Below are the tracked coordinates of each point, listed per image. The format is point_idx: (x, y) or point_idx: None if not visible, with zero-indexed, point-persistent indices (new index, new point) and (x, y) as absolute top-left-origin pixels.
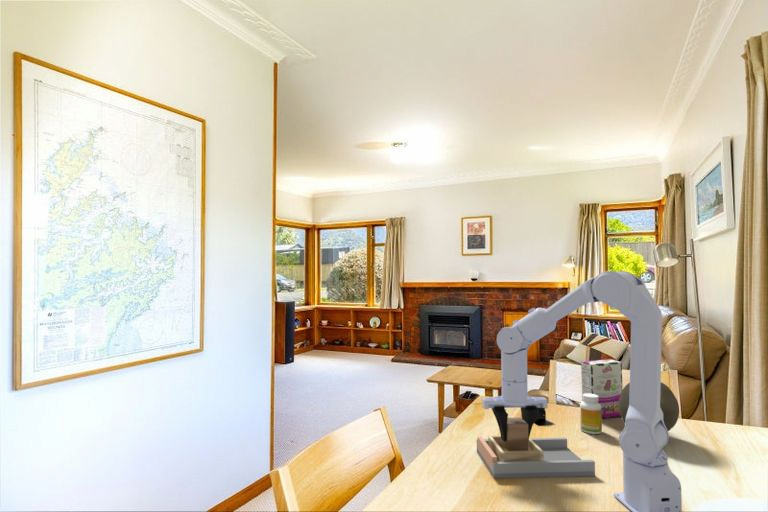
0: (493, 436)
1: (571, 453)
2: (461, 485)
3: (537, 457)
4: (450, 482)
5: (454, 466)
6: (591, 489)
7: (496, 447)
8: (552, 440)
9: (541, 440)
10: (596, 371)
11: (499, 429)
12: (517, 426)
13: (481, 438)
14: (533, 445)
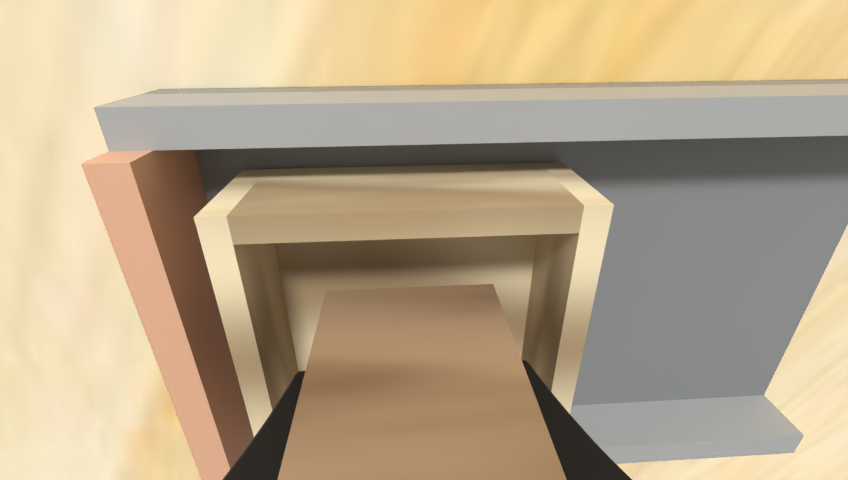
0: (249, 226)
1: (830, 221)
2: (92, 468)
3: None
4: (33, 451)
5: (17, 311)
6: (632, 475)
7: (250, 411)
8: (838, 133)
9: (741, 134)
10: None
11: (261, 427)
12: None
13: (126, 215)
14: (550, 380)
